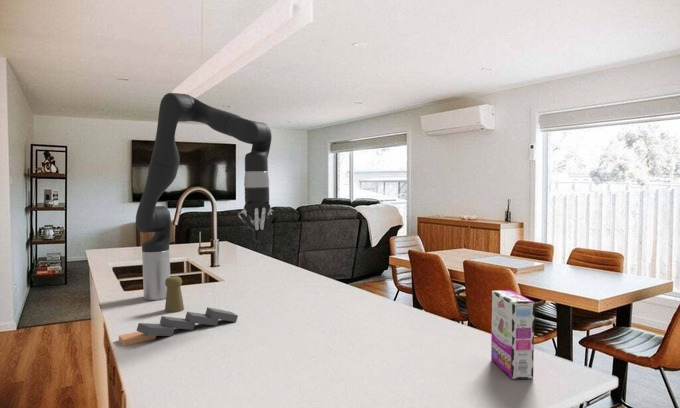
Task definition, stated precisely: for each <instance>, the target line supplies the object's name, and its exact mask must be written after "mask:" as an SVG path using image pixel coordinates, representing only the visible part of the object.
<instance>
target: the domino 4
mask: <svg viewBox="0 0 680 408" xmlns="http://www.w3.org/2000/svg"><path fill="white" fill-rule="evenodd" d="M204 314H206V315H208V316H209V317H211V318H215V319H219V320H222V321H227V322H233V323H237V320H238V317H239V315H238V314H236V313H234V312H233V311H229V310H224V309H219V308H212V307H207V308H206V310H205V313H204Z"/></svg>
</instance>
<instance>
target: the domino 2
mask: <svg viewBox="0 0 680 408" xmlns="http://www.w3.org/2000/svg"><path fill="white" fill-rule="evenodd" d="M159 324H162V325H164V326H166V327H170V328H175V329H182V330H190V331H194V329H195V326H196V323H190V322H189V321H188V320H186V319H185V318H181V317H173V316H172V317H171V316H165V315H162V316H160V321H159Z"/></svg>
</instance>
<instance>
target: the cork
mask: <svg viewBox="0 0 680 408" xmlns="http://www.w3.org/2000/svg"><path fill="white" fill-rule="evenodd" d="M182 284H183V280H182V278H181V277H180V276H175V275H174V276H170V277H168V278H167V279H166V280H165V285H166V287H167V294H166V298H165V304H164V305H165V306H164V312H165V313H172V314H173V313H174V314H175V313H179V312H182V311H184V310H185V306H184V305H185V304H184V301H183V300H184V299H183V294H182V289H181V286H182Z"/></svg>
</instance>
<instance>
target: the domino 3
mask: <svg viewBox="0 0 680 408" xmlns="http://www.w3.org/2000/svg"><path fill="white" fill-rule="evenodd" d="M184 319H186V320H188V321H189V322H190V323H195V324H199V325H207V326H214V327H215V326H216V327H217V326H218V323H219V320H220V319H215V318H211V317H209V316H208V315H206V314H205V313H201V312H193V311H186V314H185V317H184Z"/></svg>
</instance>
